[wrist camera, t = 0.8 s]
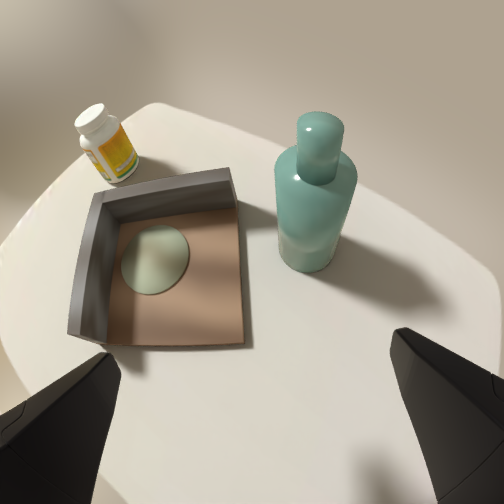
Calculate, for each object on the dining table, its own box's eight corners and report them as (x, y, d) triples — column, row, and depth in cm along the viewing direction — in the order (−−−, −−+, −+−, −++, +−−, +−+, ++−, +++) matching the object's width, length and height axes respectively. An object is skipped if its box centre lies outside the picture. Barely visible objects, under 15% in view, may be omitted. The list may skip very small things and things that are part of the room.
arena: (244, 343, 22) (234, 334, 17) (99, 344, 23) (67, 333, 18) (237, 199, 28) (229, 167, 23) (115, 218, 29) (94, 193, 24)
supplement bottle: (100, 188, 31) (62, 137, 23) (110, 159, 34) (78, 109, 25) (136, 179, 31) (100, 121, 22) (143, 150, 33) (115, 94, 25)
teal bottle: (339, 269, 23) (383, 157, 11) (281, 275, 24) (277, 162, 12) (328, 220, 26) (351, 98, 14) (276, 225, 26) (266, 101, 14)
